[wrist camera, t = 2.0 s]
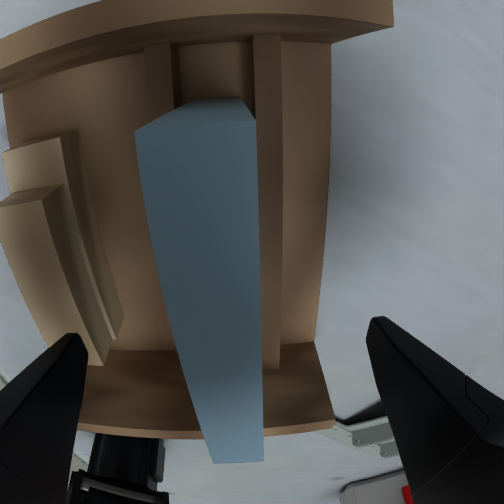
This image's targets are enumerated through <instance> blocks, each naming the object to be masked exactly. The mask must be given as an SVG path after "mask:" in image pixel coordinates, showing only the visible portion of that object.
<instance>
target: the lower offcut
mask: <svg viewBox="0 0 504 504" xmlns="http://www.w3.org/2000/svg"><path fill="white" fill-rule="evenodd" d="M2 158H3V163H4V168H5V172H6V177H7V181H8V185H9V189H10V193H11V194H12V193H14V192H18V191H22V190H27V189H32V188H37V187H43V186H48V185H53V184H59V183H64V188H65V192H66V197H67V201H68V205H69V209H70V213H71V217H72V221H73V225H74V228H75V232H76V236H77V239H78V243H79V246H80V249H81V253H82V256H83V259H84V262H85V266H86V269H87V272H88V275H89V278H90V281H91V284H92V287H93V289H94V292H95V295H96V298H97V301H98V303H99V306H100V309H101V311H102V314H103V317H104V319H105V322H106V324H107V327H108V329H109V332H110V334H111V337H112V339H117V336H118V333H119V331H120V328H121V325H122V322H123V319H124V313H123V310H122V307H121V304H120V301H119V298H118V295H117V292H116V289H115V285H114V282H113V279H112V276H111V272H110V269H109V265H108V262H107V258H106V255H105V251H104V247H103V244H102V240H101V236H100V232H99V228H98V224H97V220H96V215H95V211H94V207H93V202H92V198H91V193H90V188H89V183H88V178H87V173H86V168H85V162H84V156H83V150H82V144H81V138H80V131H79V129H76V130H71V131H67V132H63V133H59V134H54V135H50V136H47V137H43V138H39V139H35V140H32V141H28V142H25V143H22V144H20V145H17V146H15V147H13V148H11V149H9V150H7V151H5V152H2Z"/></svg>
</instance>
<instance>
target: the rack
mask: <svg viewBox="0 0 504 504" xmlns="http://www.w3.org/2000/svg"><path fill="white" fill-rule="evenodd" d="M391 27H394V17H393V1H392V0H102V1H98V2H95V3H92V4H88V5H85V6H82V7H79V8H75V9H72V10H70V11H67V12H64V13H61V14H58V15H55V16H53V17H50V18H48V19H45V20H43V21H40V22H38V23H35V24H33V25H30V26H28V27H26V28H24V29H21V30H19V31H17V32H15V33H13V34H11V35H8V36H6V37H4V38H2V39H0V93H3V103H4V111H5V119H6V126H7V132H8V138H9V144H10V149H11V148H13V147H15V146H17V145H20V144H22V143H25V142H28V141H32V140H35V139H39V138H43V137H47V136H50V135H54V134H59V133H63V132H67V131H71V130H76V129H79V131H80V138H81V144H82V150H83V156H84V162H85V168H86V173H87V178H88V183H89V188H90V193H91V198H92V202H93V207H94V211H95V215H96V220H97V224H98V228H99V232H100V236H101V240H102V244H103V247H104V251H105V255H106V258H107V262H108V265H109V269H110V272H111V276H112V279H113V282H114V285H115V289H116V292H117V295H118V298H119V301H120V304H121V307H122V310H123V313H124V319H123V322H122V325H121V328H120V331H119V333H118V336H117V339H112V342H111V345H110V348H109V351H108V354H107V357H106V360H105V363H104V366H98V365H87V372H86V380H85V388H84V396H83V401H82V406H81V411H80V416H79V421H78V426H77V430H82V431H88V432H95V433H103V434H112V435H121V436H132V437H145V438H163V439H204V436H203V433H202V430H201V427H200V424H199V421H198V418H197V415H196V412H195V409H194V406H193V403H192V399H191V396H190V393H189V390H188V387H187V383H186V380H185V377H184V373H183V370H182V366H181V363H180V359H179V356H178V352H177V348H176V345H175V341H174V337H173V334H172V330H171V326H170V322H169V318H168V314H167V310H166V306H165V302H164V297H163V293H162V289H161V284H160V280H159V276H158V271H157V266H156V262H155V257H154V252H153V247H152V242H151V237H150V232H149V226H148V221H147V215H146V210H145V204H144V198H143V192H142V185H141V179H140V172H139V165H138V158H137V151H136V143H135V135H134V131H136V130H138V129H139V128H141V127H143V126H145V125H146V124H148V123H150V122H152V121H154V120H155V119H157V118H159V117H161V116H163V115H165V114H167V113H169V112H170V111H172V110H174V109H176V108H178V107H180V106H182V105H184V104H186V103H188V102H190V101H192V100H199V99H211V98H226V97H240V98H241V99H242V100H243V102H244V103H245V105H246V106H247V108H248V109H249V111H250V112H251V114H252V115H253V117H254V118H255V120H256V140H257V173H258V208H259V246H260V287H261V333H262V385H263V437H265V436H277V435H286V434H295V433H303V432H310V431H317V430H324V429H330V428H333V425H334V422H335V416H334V412H333V408H332V404H331V401H330V397H329V393H328V390H327V386H326V382H325V379H324V375H323V372H322V368H321V365H320V361H319V357H318V354H317V350H316V347H315V343H314V337H315V330H316V322H317V313H318V305H319V296H320V286H321V276H322V266H323V255H324V244H325V231H326V217H327V202H328V185H329V164H330V136H331V44H332V43H335V42H338V41H342V40H345V39H349V38H352V37H355V36H359V35H363V34H366V33H370V32H374V31H378V30H382V29H386V28H391Z"/></svg>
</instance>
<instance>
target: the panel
mask: <svg viewBox="0 0 504 504" xmlns="http://www.w3.org/2000/svg"><path fill="white" fill-rule="evenodd" d="M134 135H135V143H136V151H137V158H138V165H139V172H140V179H141V185H142V192H143V198H144V204H145V210H146V215H147V221H148V226H149V232H150V237H151V242H152V247H153V252H154V257H155V262H156V266H157V271H158V276H159V280H160V284H161V289H162V293H163V297H164V302H165V306H166V310H167V314H168V318H169V322H170V326H171V330H172V334H173V337H174V341H175V345H176V348H177V352H178V356H179V359H180V363H181V366H182V370H183V373H184V377H185V380H186V383H187V387H188V390H189V393H190V396H191V399H192V403H193V406H194V409H195V412H196V415H197V418H198V421H199V424H200V427H201V430H202V433H203V436H204V439H205V442H206V444H207V447H208V450H209V453H210V456H211V458H212V461H213V463H244V462H260V461H264V448H263V385H262V333H261V287H260V246H259V208H258V173H257V140H256V120H255V118H254V117H253V115H252V114H251V112H250V111H249V109H248V108H247V106H246V105H245V103H244V102H243V100H242V99H241V98H240V97H226V98H211V99H199V100H192V101H190V102H188V103H186V104H184V105H182V106H180V107H178V108H176V109H174V110H172V111H170V112H169V113H167V114H165V115H163V116H161V117H159V118H157V119H155V120H154V121H152V122H150V123H148V124H146V125H145V126H143V127H141V128H139V129H138V130H136V131H134Z"/></svg>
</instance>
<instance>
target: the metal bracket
mask: <svg viewBox="0 0 504 504" xmlns="http://www.w3.org/2000/svg"><path fill="white" fill-rule="evenodd" d="M315 432H317V433H319V434H322V435H324V436H327V437H329V438H331V439H334V440H336V441H338V442H341V443H343V444H346V445H348V446H351V447H353V448H356V449H358V450H360V451H363V452H365V453H368V454H371V455H377V454H380V455H381V456H382V457H384V458H388V457H393V456H397V455H399V452H398V448H397V445H396V442H395V439H394V436H393V433H392V430H391V427H390V424H389V421H388V418H387V416H384V417H380V418H376V419H373V420H369V421H365V422H361V423H356V424H352V425H343V424H341V423H339V422H337V421H335V422H334V425H333V428H330V429H324V430H317V431H315ZM385 453H386V454H385Z"/></svg>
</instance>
